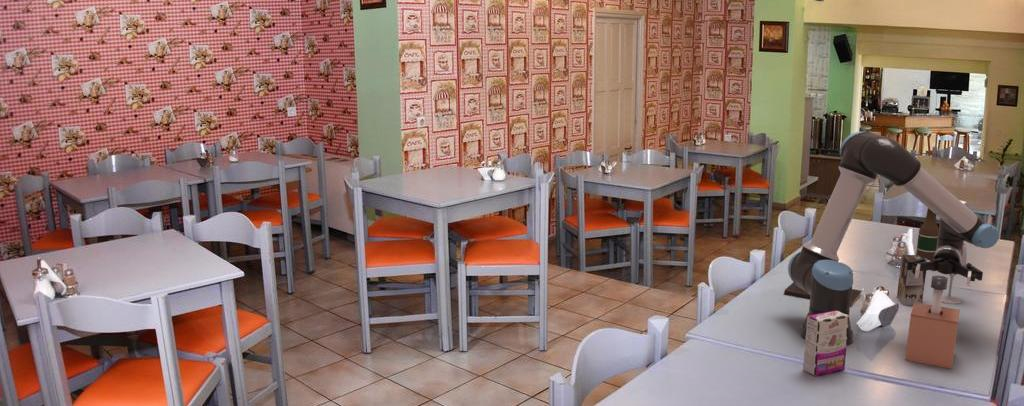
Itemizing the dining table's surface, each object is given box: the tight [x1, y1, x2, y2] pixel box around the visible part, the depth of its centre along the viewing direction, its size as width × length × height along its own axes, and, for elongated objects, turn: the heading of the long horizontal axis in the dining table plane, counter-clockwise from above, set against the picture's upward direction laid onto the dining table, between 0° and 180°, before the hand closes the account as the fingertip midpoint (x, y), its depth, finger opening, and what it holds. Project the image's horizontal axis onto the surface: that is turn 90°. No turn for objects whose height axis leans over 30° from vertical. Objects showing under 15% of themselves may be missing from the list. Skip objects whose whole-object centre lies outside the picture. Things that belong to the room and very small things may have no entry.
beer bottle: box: [915, 207, 939, 261], centre depth 334 cm, size 8×8×24 cm
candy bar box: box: [802, 311, 850, 377], centre depth 225 cm, size 11×5×16 cm, turn 114°
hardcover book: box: [783, 281, 862, 308], centre depth 291 cm, size 16×23×2 cm
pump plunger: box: [930, 275, 949, 314], centre depth 232 cm, size 8×4×22 cm, turn 149°
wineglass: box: [942, 243, 968, 305], centre depth 284 cm, size 8×8×21 cm
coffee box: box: [896, 254, 927, 306], centre depth 283 cm, size 9×6×16 cm
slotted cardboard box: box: [905, 302, 961, 369], centre depth 235 cm, size 12×12×14 cm
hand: (942, 277), depth 237 cm, fingers open, 13 cm apart
